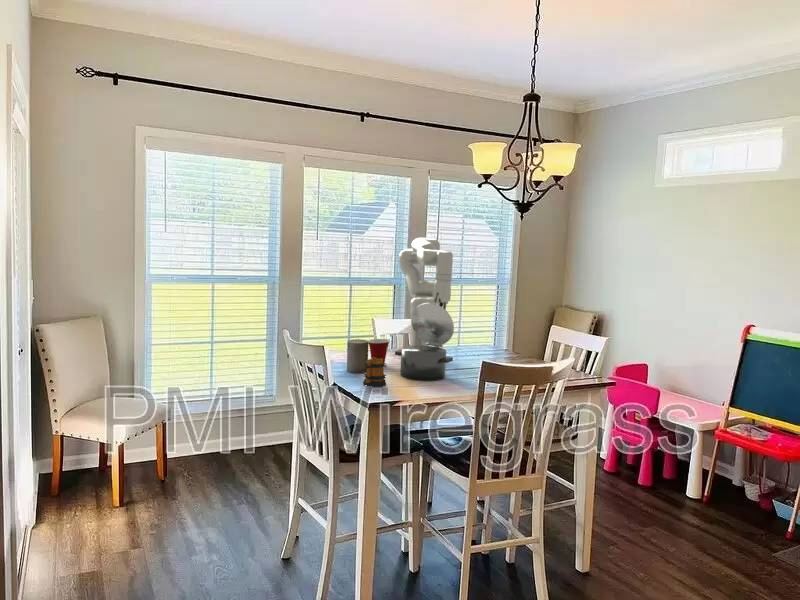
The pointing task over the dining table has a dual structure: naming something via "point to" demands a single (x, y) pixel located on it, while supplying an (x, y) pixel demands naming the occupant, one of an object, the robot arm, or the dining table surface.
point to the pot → (423, 362)
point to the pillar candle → (357, 355)
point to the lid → (432, 324)
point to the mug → (375, 373)
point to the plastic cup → (378, 348)
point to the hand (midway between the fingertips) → (441, 317)
